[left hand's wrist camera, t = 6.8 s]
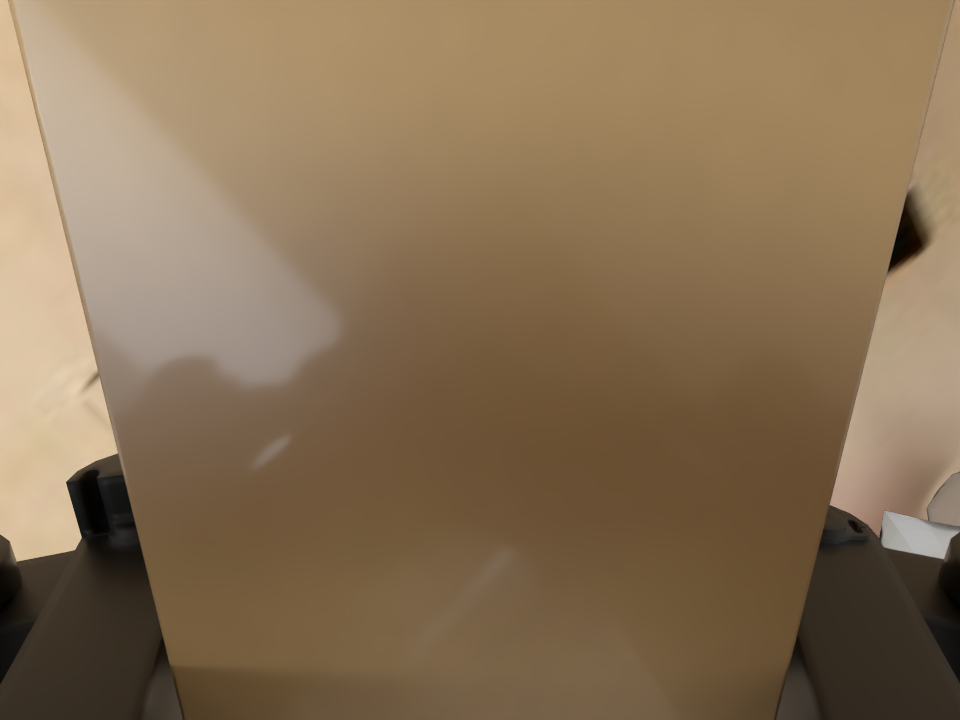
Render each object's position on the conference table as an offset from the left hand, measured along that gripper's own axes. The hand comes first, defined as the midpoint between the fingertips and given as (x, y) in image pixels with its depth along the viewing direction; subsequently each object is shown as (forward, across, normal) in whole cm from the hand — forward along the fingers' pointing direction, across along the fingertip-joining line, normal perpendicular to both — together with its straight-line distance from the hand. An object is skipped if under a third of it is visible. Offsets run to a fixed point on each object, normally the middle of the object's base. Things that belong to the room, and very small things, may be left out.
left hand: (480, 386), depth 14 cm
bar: (+1, 0, -8) cm, 8 cm away
